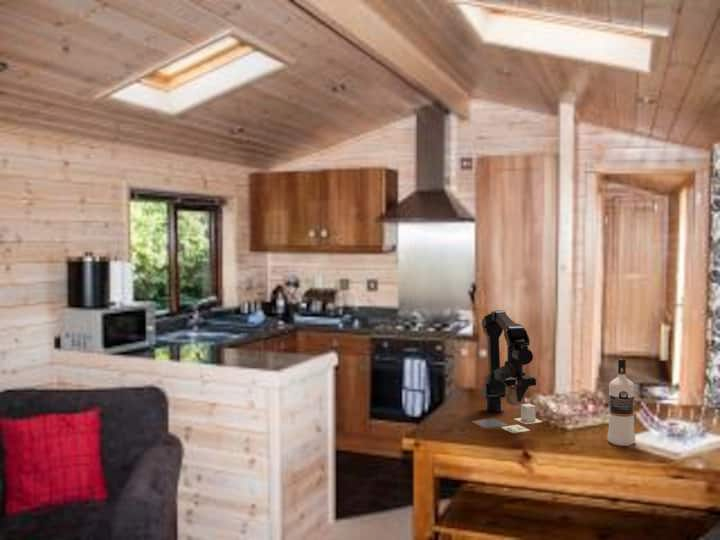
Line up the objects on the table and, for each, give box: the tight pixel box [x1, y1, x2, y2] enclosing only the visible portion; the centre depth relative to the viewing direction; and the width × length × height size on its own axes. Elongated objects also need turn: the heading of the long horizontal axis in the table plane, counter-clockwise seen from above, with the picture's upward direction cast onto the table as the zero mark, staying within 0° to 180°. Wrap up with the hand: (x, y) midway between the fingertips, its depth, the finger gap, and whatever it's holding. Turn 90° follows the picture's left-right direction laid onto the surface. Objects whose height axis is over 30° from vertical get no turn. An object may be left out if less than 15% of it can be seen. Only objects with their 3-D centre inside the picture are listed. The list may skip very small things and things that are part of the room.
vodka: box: [606, 357, 636, 447], centre depth 234 cm, size 9×9×30 cm
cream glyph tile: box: [500, 424, 531, 434], centre depth 252 cm, size 8×8×1 cm
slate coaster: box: [471, 417, 508, 429], centre depth 259 cm, size 10×10×1 cm
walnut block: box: [505, 386, 526, 406], centre depth 251 cm, size 5×5×6 cm
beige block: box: [520, 403, 537, 422], centre depth 262 cm, size 4×4×6 cm
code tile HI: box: [514, 417, 543, 425], centre depth 262 cm, size 8×8×1 cm
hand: (515, 399), depth 251 cm, fingers closed on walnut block, 5 cm apart
